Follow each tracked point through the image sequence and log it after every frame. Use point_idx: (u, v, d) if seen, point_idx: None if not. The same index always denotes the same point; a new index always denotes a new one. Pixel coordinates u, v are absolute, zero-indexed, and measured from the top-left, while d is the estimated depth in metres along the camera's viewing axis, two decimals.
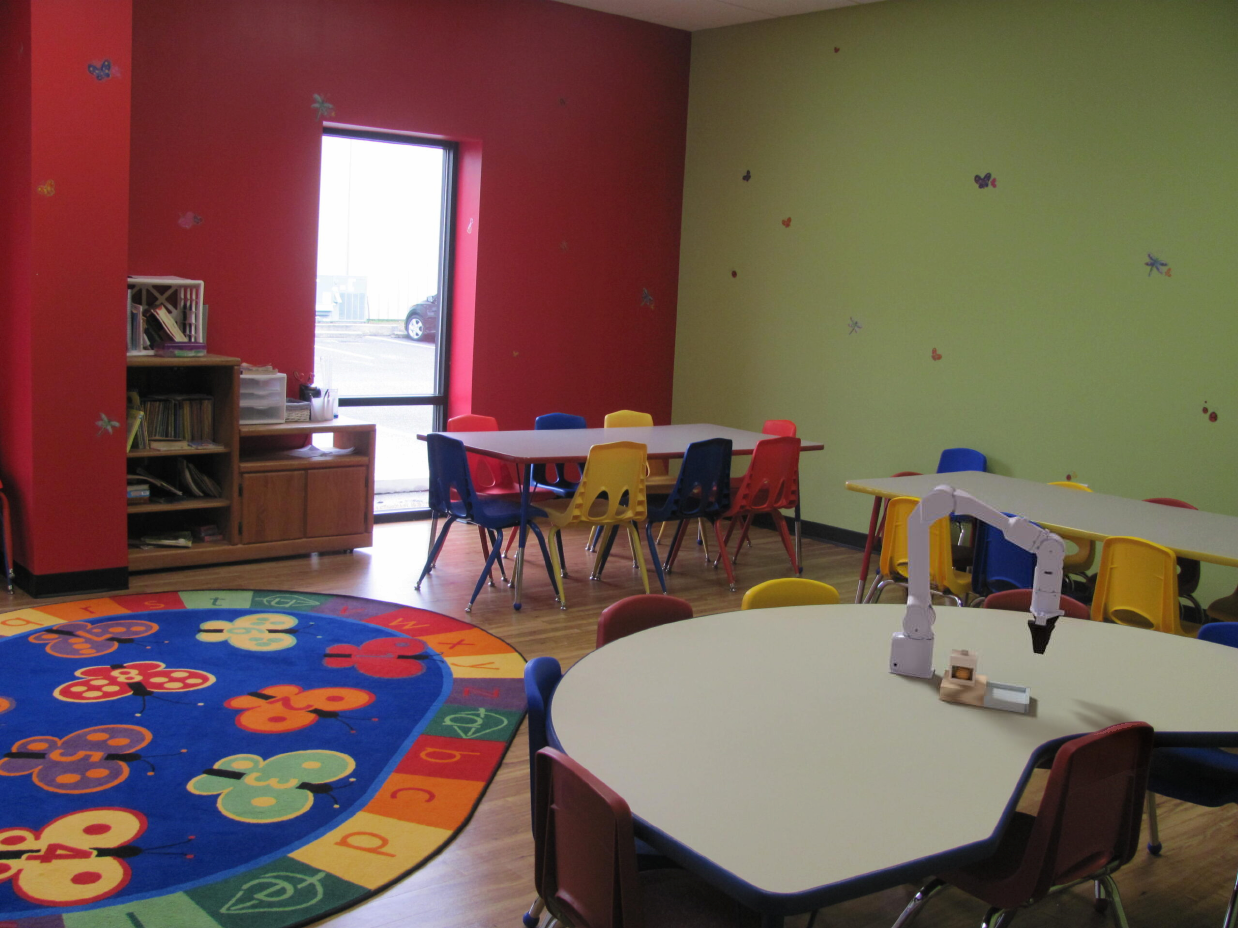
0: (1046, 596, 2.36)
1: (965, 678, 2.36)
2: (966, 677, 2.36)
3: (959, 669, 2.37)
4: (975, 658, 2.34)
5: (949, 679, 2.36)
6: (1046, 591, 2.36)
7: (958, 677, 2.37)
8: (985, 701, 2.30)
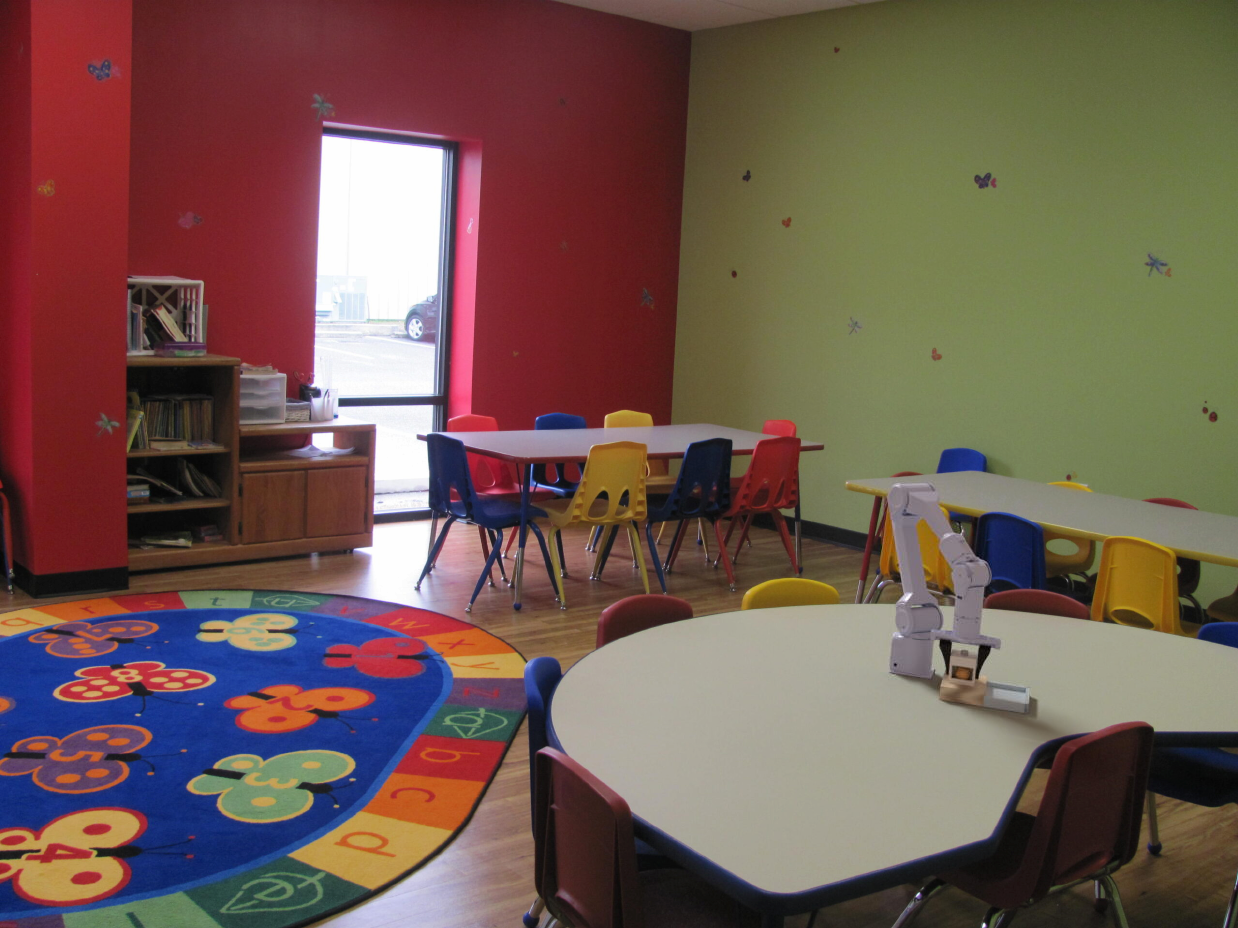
0: None
1: (965, 678, 2.36)
2: (966, 677, 2.36)
3: (959, 669, 2.37)
4: (975, 658, 2.34)
5: (949, 679, 2.36)
6: (954, 613, 2.36)
7: (958, 677, 2.37)
8: (985, 701, 2.30)
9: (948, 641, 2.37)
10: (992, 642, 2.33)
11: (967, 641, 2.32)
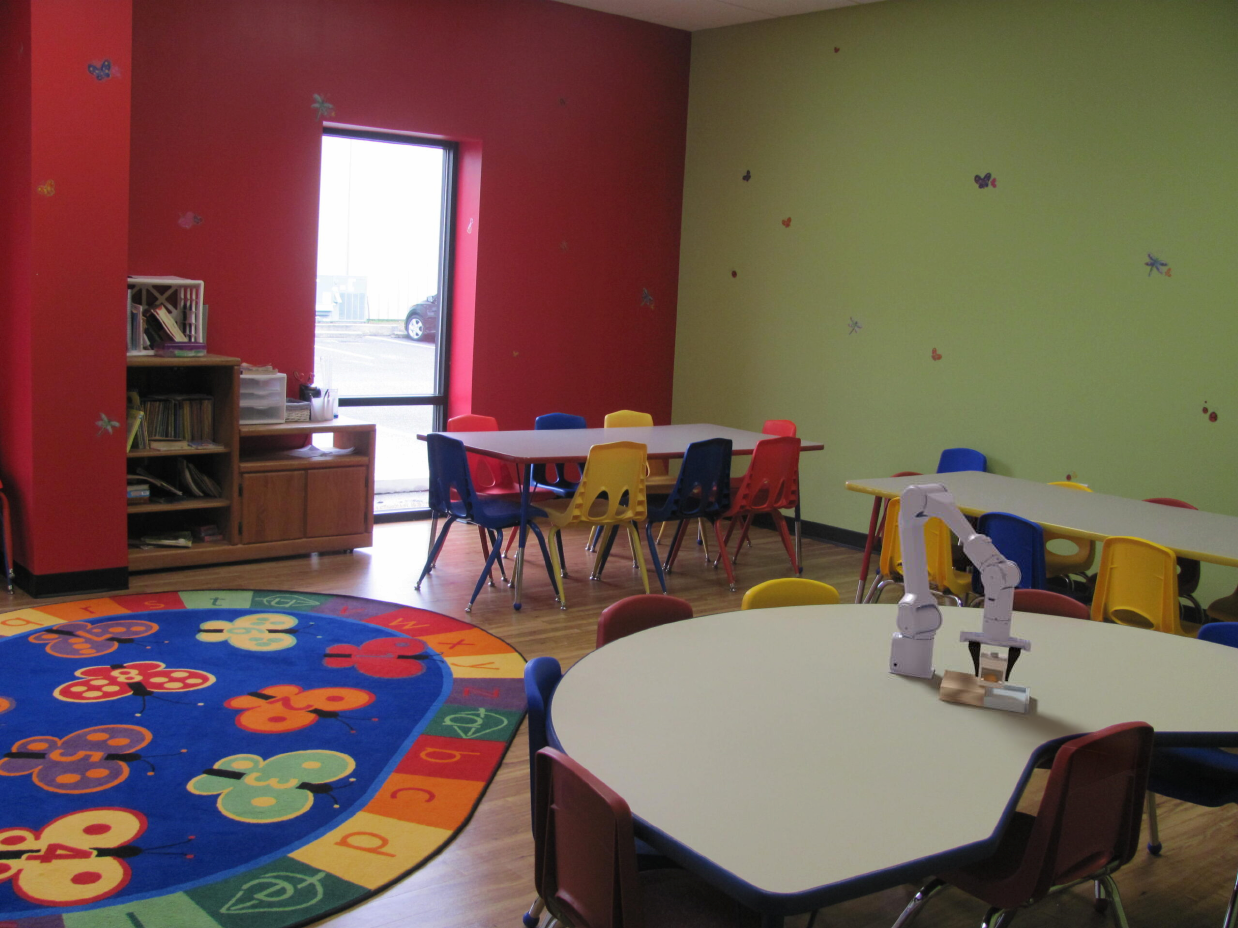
0: (983, 620, 2.34)
1: (990, 677, 2.34)
2: (989, 677, 2.34)
3: None
4: (1005, 661, 2.32)
5: (978, 681, 2.34)
6: None
7: None
8: (985, 701, 2.30)
9: (977, 643, 2.35)
10: (1022, 644, 2.31)
11: (997, 643, 2.30)
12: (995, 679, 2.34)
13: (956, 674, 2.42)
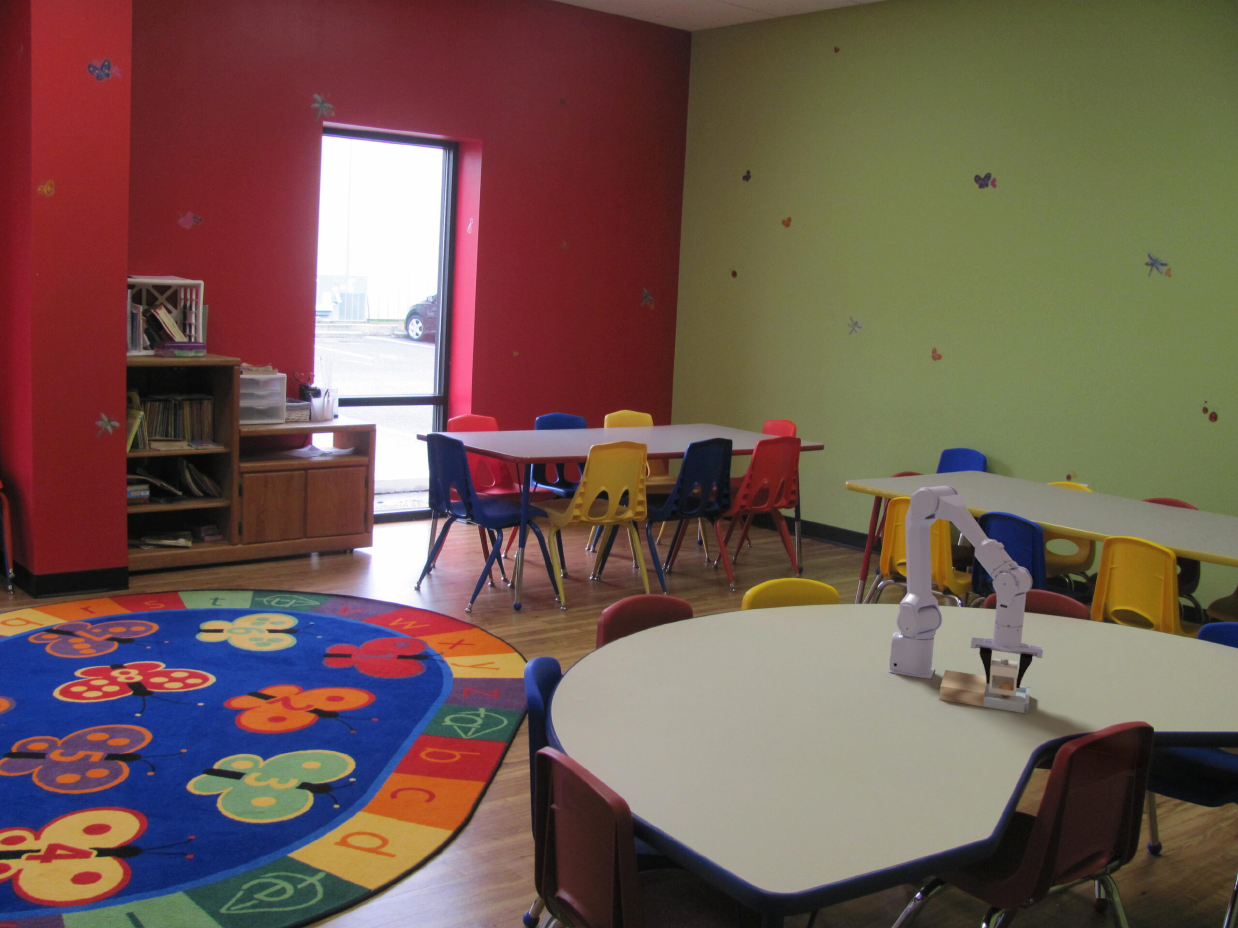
0: (994, 626, 2.33)
1: (1009, 695, 2.33)
2: None
3: (1004, 685, 2.34)
4: (1016, 667, 2.31)
5: (990, 689, 2.33)
6: None
7: None
8: (985, 701, 2.30)
9: (989, 649, 2.34)
10: (1034, 650, 2.30)
11: (1009, 649, 2.29)
12: (1004, 695, 2.34)
13: (956, 674, 2.42)
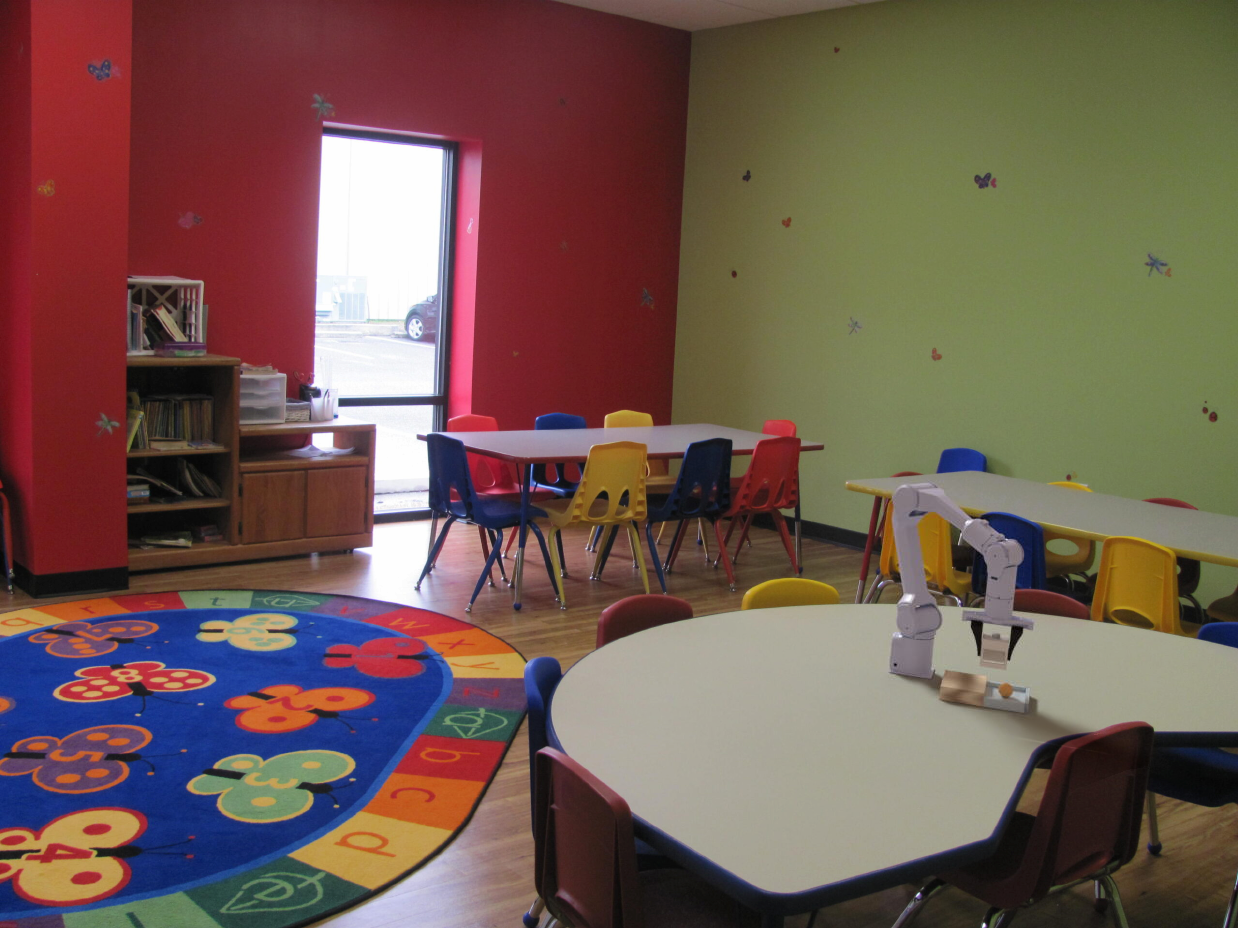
0: (985, 599, 2.34)
1: (1009, 694, 2.33)
2: (1010, 693, 2.33)
3: (1003, 685, 2.34)
4: (1007, 641, 2.31)
5: (981, 663, 2.33)
6: (986, 593, 2.33)
7: (1001, 693, 2.33)
8: (985, 701, 2.30)
9: (980, 622, 2.34)
10: (1025, 623, 2.30)
11: (1000, 622, 2.29)
12: (1004, 695, 2.34)
13: (956, 674, 2.42)
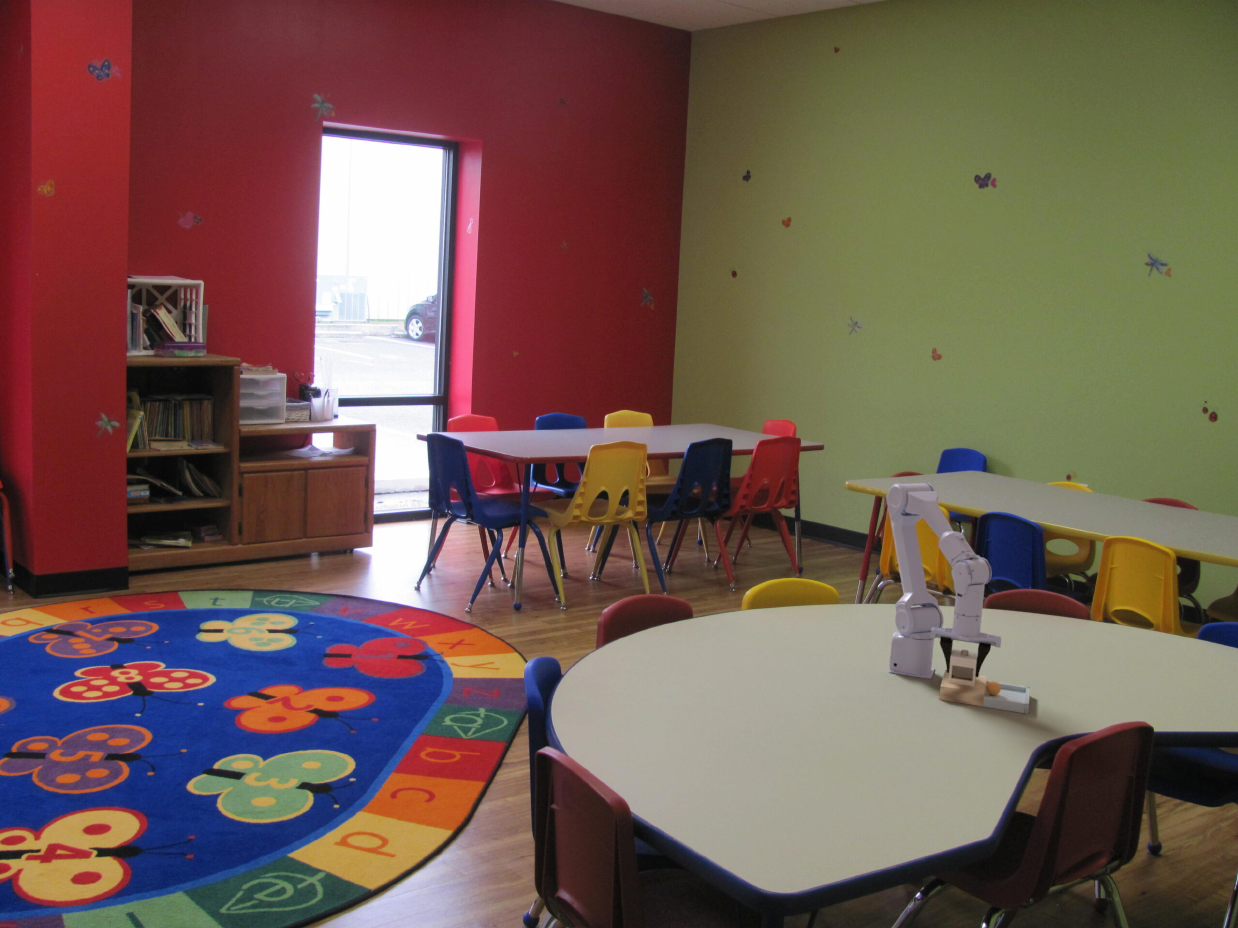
0: None
1: (995, 686, 2.34)
2: (994, 685, 2.34)
3: (987, 690, 2.35)
4: (975, 658, 2.34)
5: (949, 679, 2.36)
6: (954, 611, 2.36)
7: (995, 692, 2.34)
8: (985, 701, 2.30)
9: (948, 639, 2.37)
10: (992, 640, 2.33)
11: (967, 639, 2.32)
12: (998, 690, 2.34)
13: None
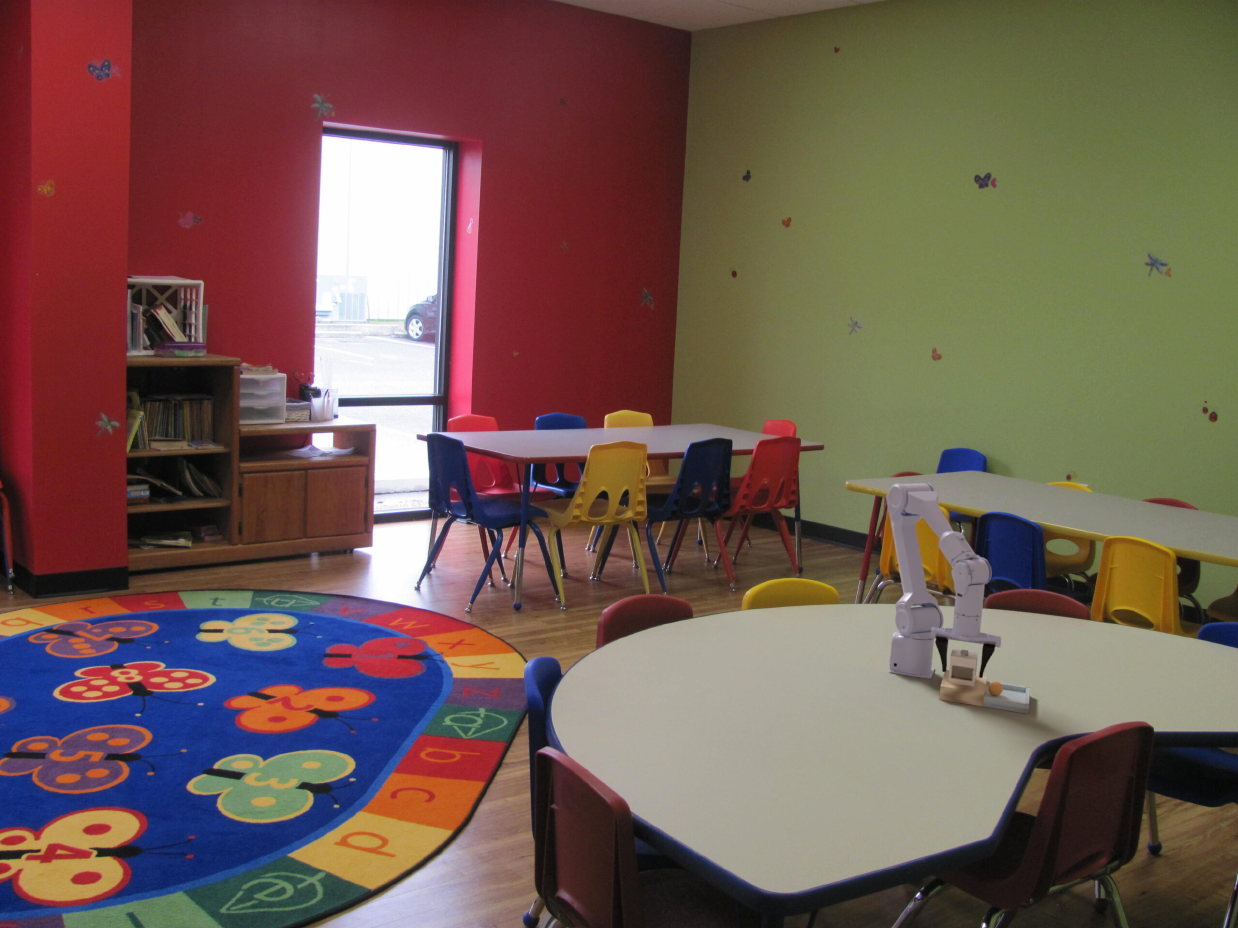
0: None
1: (999, 687, 2.34)
2: (998, 686, 2.34)
3: (989, 689, 2.35)
4: (975, 658, 2.34)
5: (949, 679, 2.36)
6: (954, 611, 2.36)
7: (996, 693, 2.34)
8: (985, 701, 2.30)
9: (948, 639, 2.37)
10: (992, 640, 2.33)
11: (967, 639, 2.32)
12: (1000, 691, 2.34)
13: None
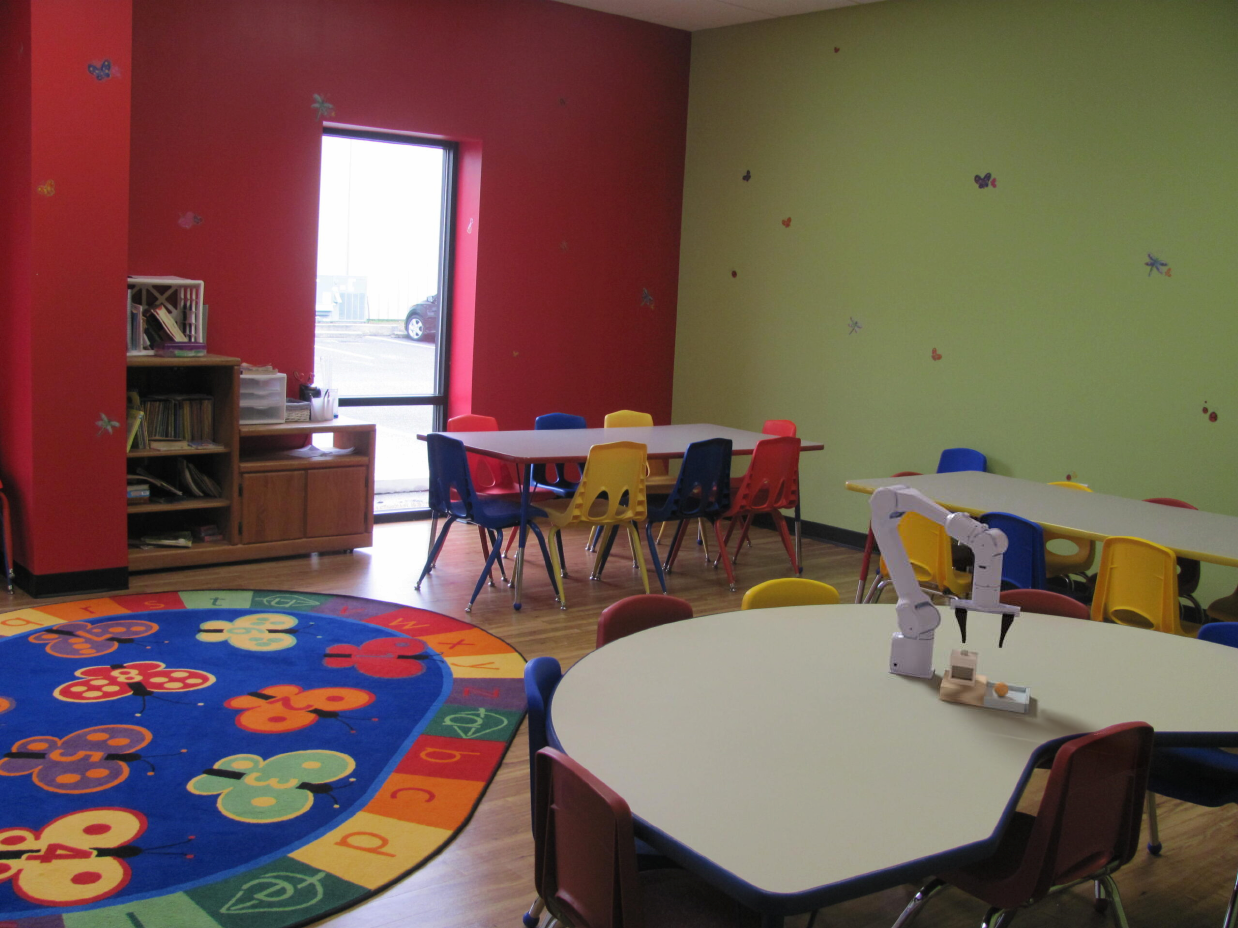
0: None
1: (1005, 691, 2.33)
2: (1006, 690, 2.33)
3: (996, 686, 2.34)
4: (975, 658, 2.34)
5: (949, 679, 2.36)
6: (973, 582, 2.39)
7: (999, 694, 2.34)
8: (985, 701, 2.30)
9: (967, 610, 2.39)
10: (1011, 610, 2.36)
11: (987, 609, 2.35)
12: (1003, 695, 2.34)
13: None
